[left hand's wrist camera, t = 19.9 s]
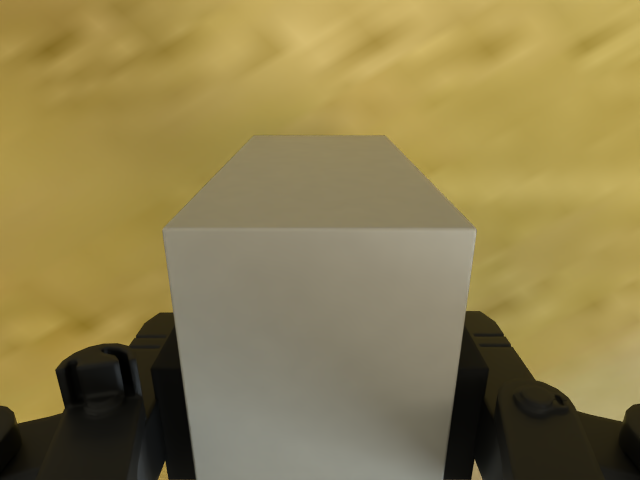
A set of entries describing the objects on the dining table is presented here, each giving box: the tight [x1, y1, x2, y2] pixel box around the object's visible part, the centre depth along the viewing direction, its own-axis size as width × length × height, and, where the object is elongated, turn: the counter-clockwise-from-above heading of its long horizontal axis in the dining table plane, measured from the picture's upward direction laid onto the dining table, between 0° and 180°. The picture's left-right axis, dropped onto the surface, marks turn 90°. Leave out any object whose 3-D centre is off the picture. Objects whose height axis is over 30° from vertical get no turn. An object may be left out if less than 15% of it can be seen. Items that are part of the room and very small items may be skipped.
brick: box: [163, 135, 477, 480], centre depth 13 cm, size 5×8×10 cm, turn 0°
